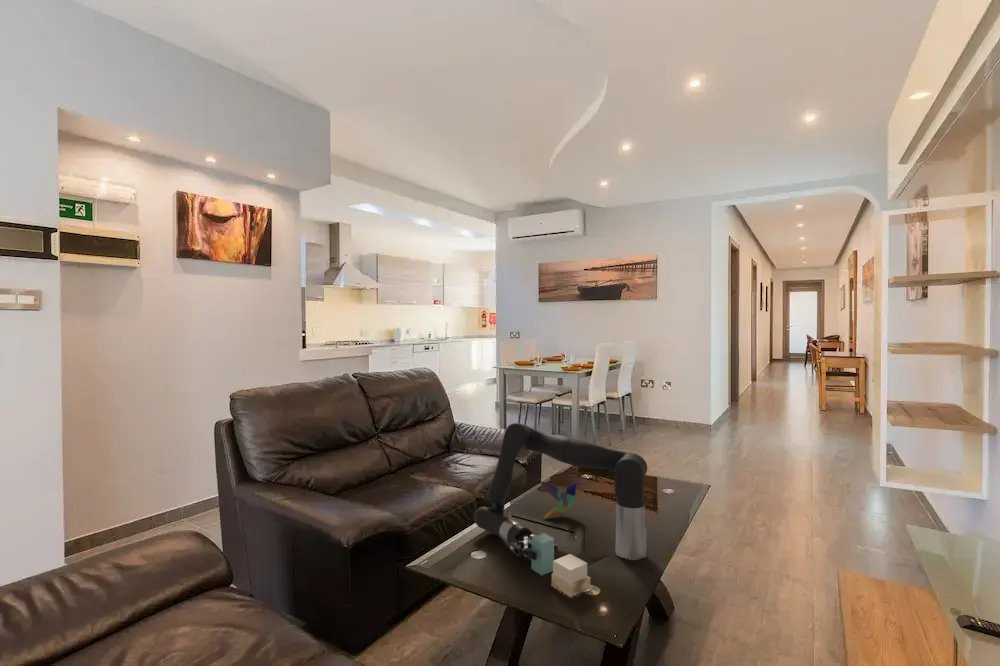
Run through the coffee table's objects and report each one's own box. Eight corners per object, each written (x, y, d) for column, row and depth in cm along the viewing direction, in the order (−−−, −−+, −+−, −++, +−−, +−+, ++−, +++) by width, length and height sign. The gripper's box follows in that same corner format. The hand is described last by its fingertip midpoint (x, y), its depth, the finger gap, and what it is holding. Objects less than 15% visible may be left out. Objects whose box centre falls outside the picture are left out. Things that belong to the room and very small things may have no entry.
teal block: (543, 564, 159) (543, 533, 158) (553, 570, 155) (554, 539, 154) (531, 568, 156) (531, 537, 155) (541, 575, 152) (541, 543, 151)
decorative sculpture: (595, 521, 193) (596, 483, 192) (553, 528, 186) (554, 488, 186) (573, 505, 209) (573, 470, 208) (533, 511, 202) (534, 475, 202)
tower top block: (569, 566, 150) (570, 553, 150) (587, 576, 144) (587, 563, 144) (553, 574, 145) (553, 560, 145) (570, 584, 140) (570, 570, 140)
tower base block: (571, 579, 150) (571, 566, 150) (590, 591, 144) (590, 577, 144) (551, 587, 146) (551, 573, 145) (570, 600, 139) (570, 586, 139)
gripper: (498, 528, 162) (528, 547, 149) (531, 518, 171) (563, 535, 157) (497, 550, 163) (528, 571, 149) (531, 540, 171) (563, 558, 158)
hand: (546, 553), depth 153 cm, fingers open, 8 cm apart
